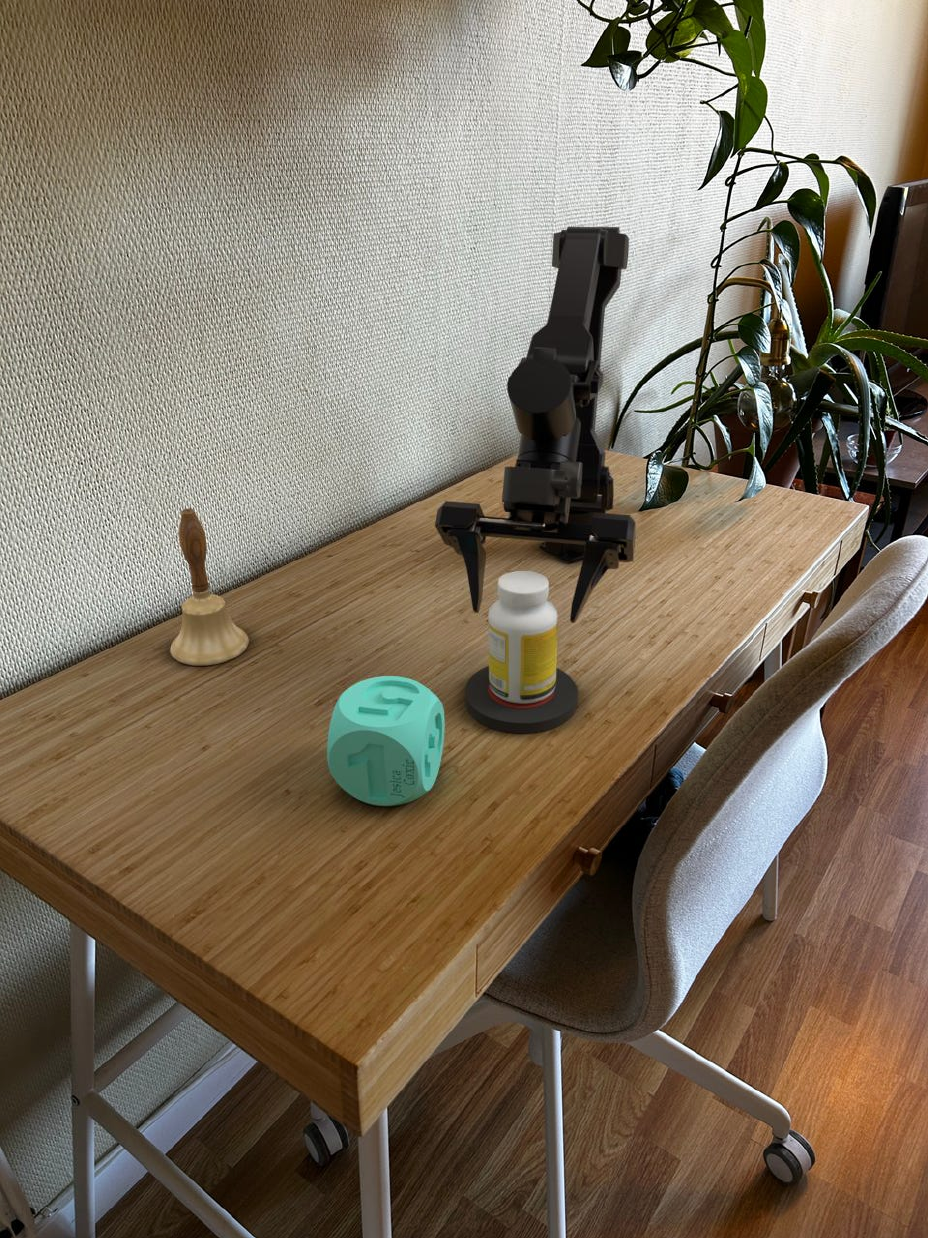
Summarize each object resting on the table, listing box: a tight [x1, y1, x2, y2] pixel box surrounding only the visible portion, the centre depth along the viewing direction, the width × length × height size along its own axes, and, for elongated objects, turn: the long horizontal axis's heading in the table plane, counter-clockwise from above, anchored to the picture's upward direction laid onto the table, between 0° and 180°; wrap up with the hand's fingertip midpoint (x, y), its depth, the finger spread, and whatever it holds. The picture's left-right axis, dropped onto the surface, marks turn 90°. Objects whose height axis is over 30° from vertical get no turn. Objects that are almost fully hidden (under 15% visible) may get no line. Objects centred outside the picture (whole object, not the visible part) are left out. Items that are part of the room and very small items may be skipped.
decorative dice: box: [326, 675, 446, 807], centre depth 77 cm, size 8×8×8 cm
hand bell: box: [169, 507, 250, 667], centre depth 96 cm, size 8×8×16 cm
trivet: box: [464, 665, 579, 734], centre depth 89 cm, size 11×11×1 cm
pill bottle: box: [487, 570, 559, 704], centre depth 86 cm, size 6×6×12 cm
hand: (523, 616), depth 85 cm, fingers open, 9 cm apart
